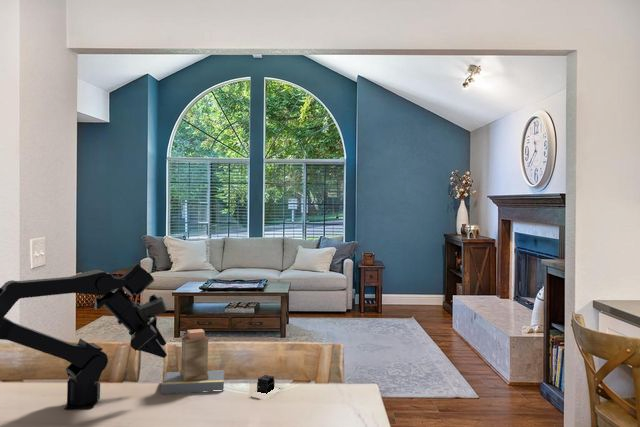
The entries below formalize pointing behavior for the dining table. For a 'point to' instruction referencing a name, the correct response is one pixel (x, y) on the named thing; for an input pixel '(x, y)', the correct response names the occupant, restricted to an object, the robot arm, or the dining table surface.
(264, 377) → the black slotted stand
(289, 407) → the dining table surface
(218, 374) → the dock
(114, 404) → the dining table surface
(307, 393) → the dining table surface
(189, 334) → the block
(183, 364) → the open wooden bin
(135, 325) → the robot arm
